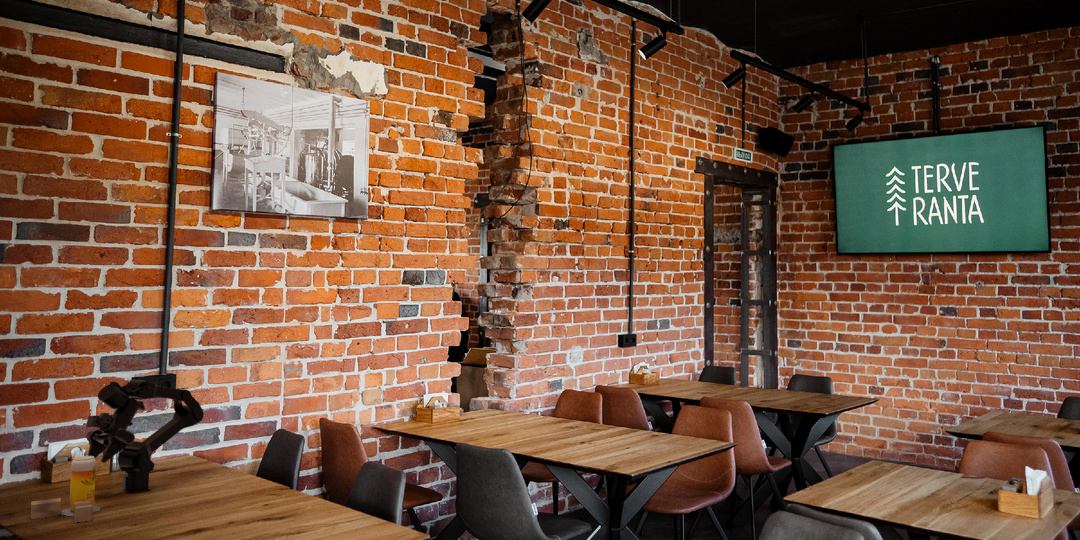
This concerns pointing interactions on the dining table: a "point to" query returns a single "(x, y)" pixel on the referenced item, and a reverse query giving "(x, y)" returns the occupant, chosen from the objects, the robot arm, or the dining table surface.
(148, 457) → the robot arm
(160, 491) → the dining table surface
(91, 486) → the beer can
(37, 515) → the beam vee
